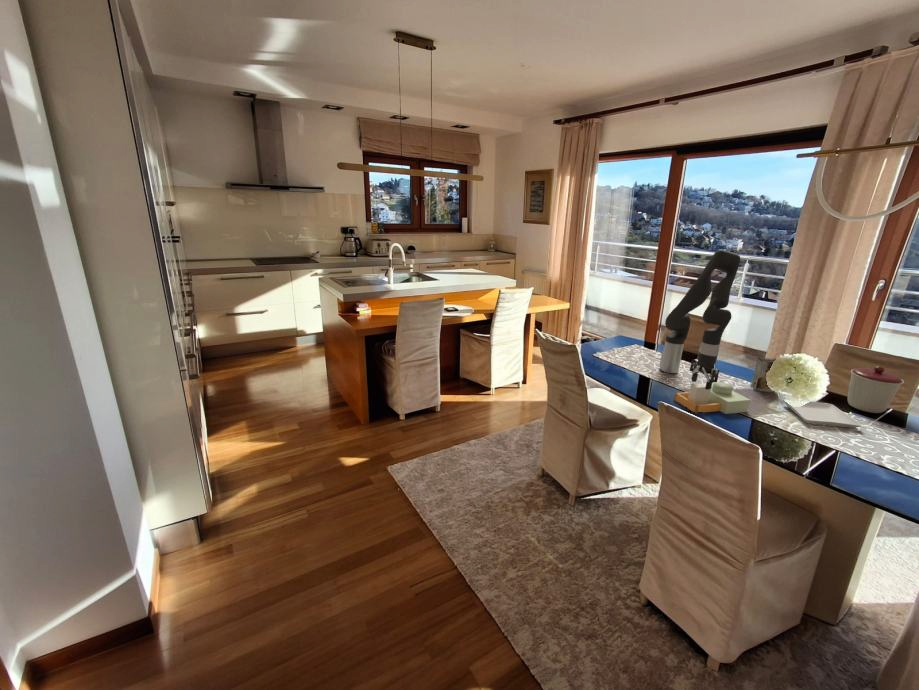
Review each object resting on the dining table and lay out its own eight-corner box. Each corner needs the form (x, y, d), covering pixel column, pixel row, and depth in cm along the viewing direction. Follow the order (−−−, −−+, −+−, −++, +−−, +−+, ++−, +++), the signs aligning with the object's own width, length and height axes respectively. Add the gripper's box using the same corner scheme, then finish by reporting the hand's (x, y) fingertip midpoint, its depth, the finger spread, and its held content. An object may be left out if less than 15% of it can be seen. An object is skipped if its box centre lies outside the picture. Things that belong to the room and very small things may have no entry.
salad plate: (860, 432, 180) (863, 425, 179) (804, 426, 183) (806, 419, 182) (829, 409, 199) (831, 403, 198) (779, 404, 203) (781, 398, 202)
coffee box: (770, 387, 221) (778, 358, 216) (775, 392, 215) (783, 362, 210) (750, 385, 223) (757, 356, 218) (754, 390, 217) (762, 360, 212)
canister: (886, 406, 203) (902, 365, 197) (895, 421, 189) (913, 377, 182) (837, 396, 213) (851, 356, 206) (842, 409, 199) (857, 367, 192)
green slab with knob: (669, 397, 207) (673, 379, 204) (713, 393, 213) (717, 376, 210) (700, 416, 189) (704, 397, 186) (747, 411, 194) (752, 393, 191)
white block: (686, 403, 200) (690, 384, 197) (701, 402, 202) (705, 383, 199) (692, 407, 197) (697, 387, 194) (707, 406, 199) (712, 386, 195)
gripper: (689, 347, 197) (682, 379, 202) (713, 358, 184) (705, 392, 189) (703, 346, 199) (696, 378, 204) (728, 357, 185) (719, 391, 191)
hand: (700, 385), depth 196 cm, fingers open, 8 cm apart
